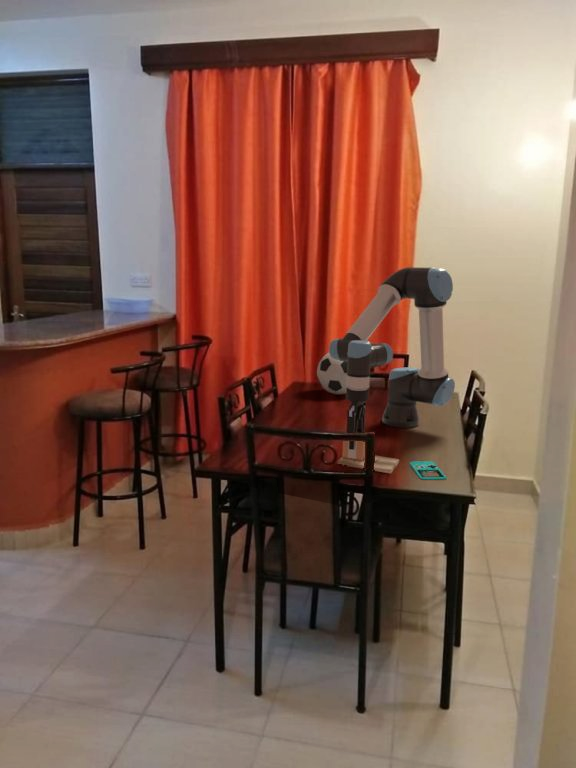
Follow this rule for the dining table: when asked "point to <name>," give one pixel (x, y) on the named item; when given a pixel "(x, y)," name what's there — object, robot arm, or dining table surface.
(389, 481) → the dining table surface
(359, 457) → the block
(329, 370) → the soccer ball
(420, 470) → the handheld gaming console
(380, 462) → the board
